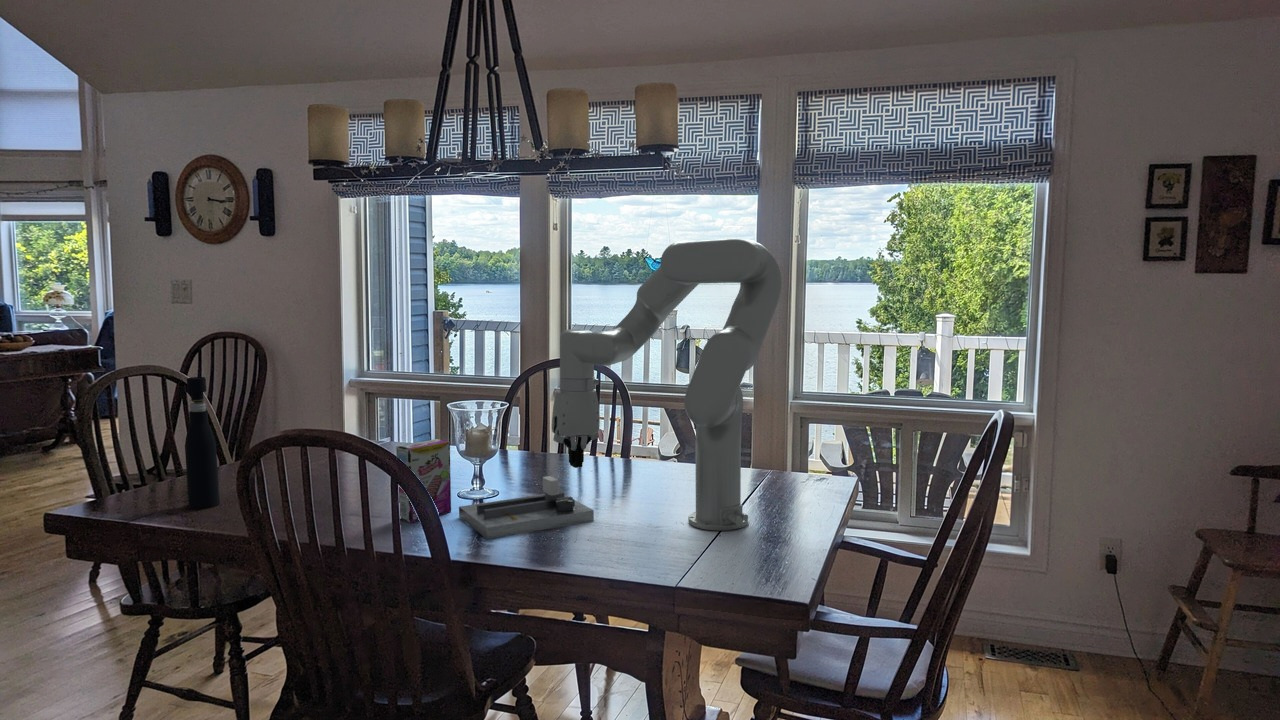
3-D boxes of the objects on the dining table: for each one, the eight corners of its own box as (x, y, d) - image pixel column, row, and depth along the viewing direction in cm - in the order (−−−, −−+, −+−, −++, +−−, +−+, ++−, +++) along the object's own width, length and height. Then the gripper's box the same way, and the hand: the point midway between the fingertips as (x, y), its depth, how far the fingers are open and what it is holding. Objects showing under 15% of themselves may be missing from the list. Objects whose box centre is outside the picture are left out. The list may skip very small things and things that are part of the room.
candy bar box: (411, 524, 182) (408, 448, 181) (397, 519, 186) (394, 445, 184) (453, 512, 191) (450, 440, 189) (439, 508, 194) (436, 437, 193)
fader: (559, 505, 186) (558, 480, 186) (550, 506, 185) (550, 481, 185) (551, 500, 190) (550, 476, 190) (542, 501, 189) (542, 477, 189)
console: (593, 520, 183) (593, 500, 183) (487, 539, 171) (486, 517, 171) (559, 501, 199) (558, 482, 198) (459, 517, 187) (458, 497, 187)
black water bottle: (206, 509, 195) (198, 379, 192) (182, 508, 196) (173, 379, 193) (225, 502, 201) (217, 376, 198) (202, 501, 203) (193, 376, 199)
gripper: (599, 381, 196) (598, 459, 198) (538, 384, 188) (538, 466, 190) (614, 385, 189) (613, 466, 191) (552, 389, 182) (552, 473, 184)
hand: (576, 466), depth 191 cm, fingers closed
